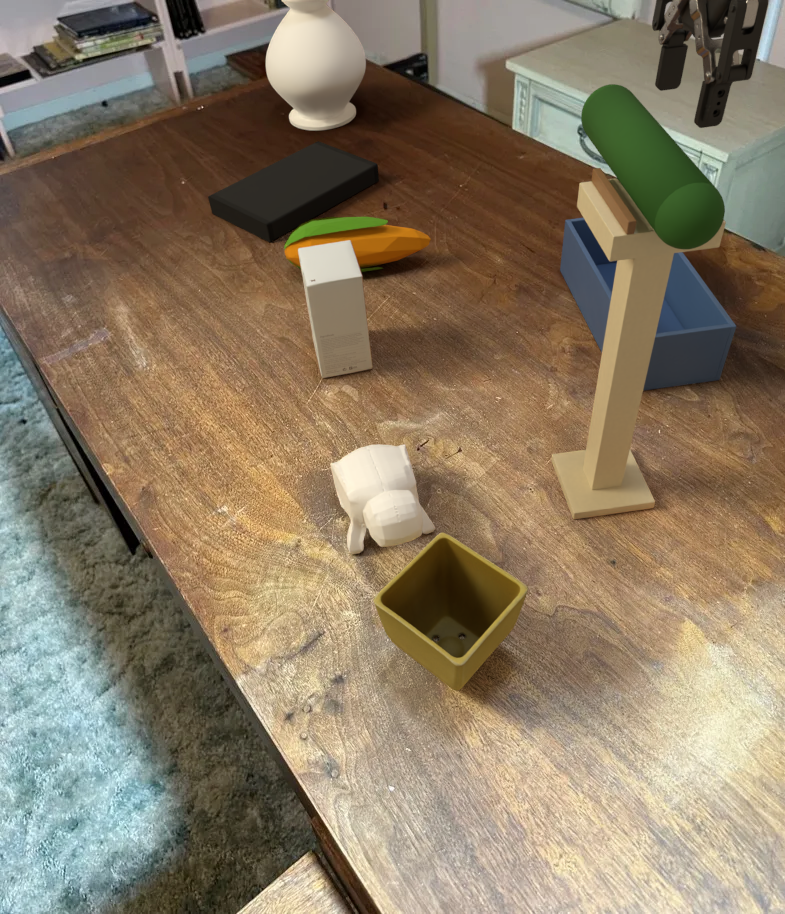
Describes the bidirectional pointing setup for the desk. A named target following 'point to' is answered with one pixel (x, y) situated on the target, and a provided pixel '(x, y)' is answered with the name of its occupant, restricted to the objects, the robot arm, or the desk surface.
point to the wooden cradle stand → (619, 353)
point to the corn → (358, 239)
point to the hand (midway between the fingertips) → (685, 106)
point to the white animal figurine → (380, 496)
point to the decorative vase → (315, 65)
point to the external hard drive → (293, 190)
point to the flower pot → (450, 609)
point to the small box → (336, 307)
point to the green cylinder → (653, 168)
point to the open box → (681, 319)
